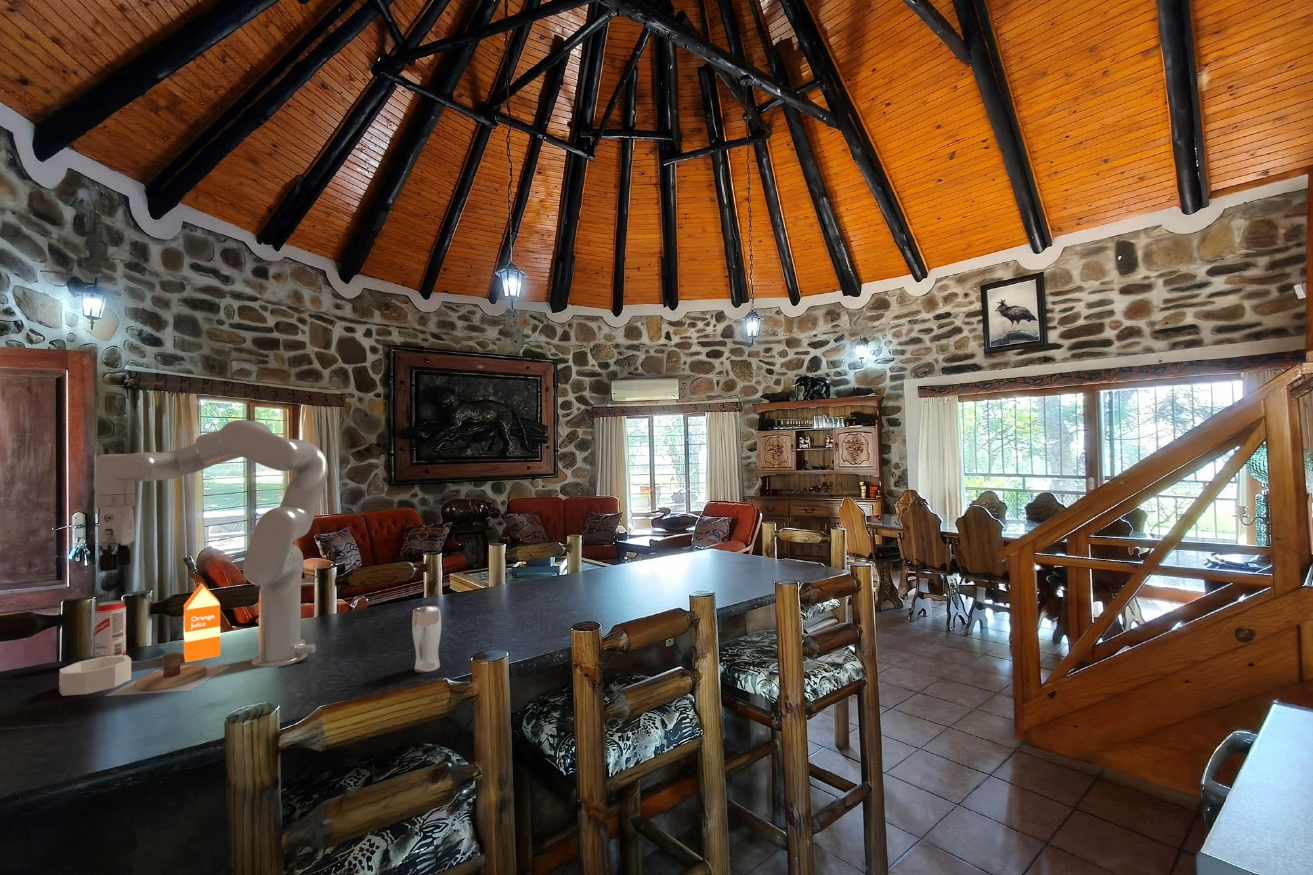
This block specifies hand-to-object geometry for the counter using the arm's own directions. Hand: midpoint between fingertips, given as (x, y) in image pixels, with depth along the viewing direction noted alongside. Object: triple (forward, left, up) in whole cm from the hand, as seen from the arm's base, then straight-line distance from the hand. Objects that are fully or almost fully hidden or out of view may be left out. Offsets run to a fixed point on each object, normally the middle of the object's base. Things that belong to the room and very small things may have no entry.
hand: (115, 567), depth 150 cm
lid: (-19, +9, -27) cm, 34 cm away
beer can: (+10, -11, -28) cm, 31 cm away
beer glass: (-80, +10, -28) cm, 86 cm away
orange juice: (-14, -10, -28) cm, 33 cm away
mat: (-19, +9, -27) cm, 35 cm away
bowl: (-2, +9, -27) cm, 29 cm away
